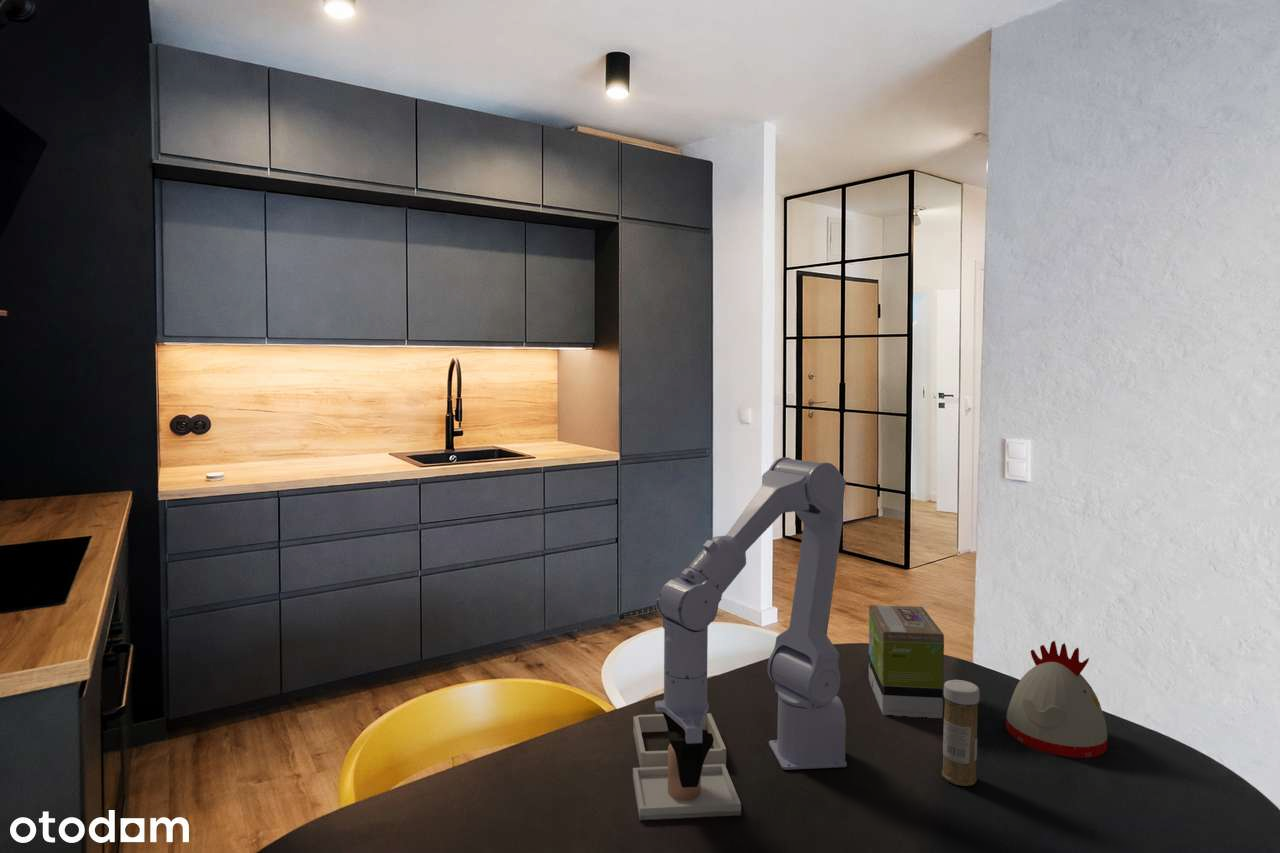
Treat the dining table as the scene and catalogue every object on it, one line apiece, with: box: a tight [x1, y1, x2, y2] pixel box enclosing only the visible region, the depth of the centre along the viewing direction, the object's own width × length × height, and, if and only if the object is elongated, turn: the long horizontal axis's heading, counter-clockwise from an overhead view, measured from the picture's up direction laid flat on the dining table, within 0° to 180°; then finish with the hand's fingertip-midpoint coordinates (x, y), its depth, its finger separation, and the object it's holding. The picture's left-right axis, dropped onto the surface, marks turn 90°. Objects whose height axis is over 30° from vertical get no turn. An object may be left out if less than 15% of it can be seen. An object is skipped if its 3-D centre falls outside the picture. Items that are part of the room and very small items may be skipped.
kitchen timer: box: [1005, 640, 1108, 759], centre depth 117 cm, size 14×14×15 cm
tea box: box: [868, 604, 945, 719], centre depth 130 cm, size 15×10×15 cm
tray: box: [632, 764, 742, 821], centre depth 99 cm, size 13×10×2 cm
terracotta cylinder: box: [667, 742, 701, 801], centre depth 99 cm, size 4×4×6 cm
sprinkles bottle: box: [941, 679, 980, 787], centre depth 104 cm, size 5×5×14 cm
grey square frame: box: [632, 712, 727, 768], centre depth 112 cm, size 12×12×2 cm
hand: (684, 770), depth 99 cm, fingers open, 7 cm apart
